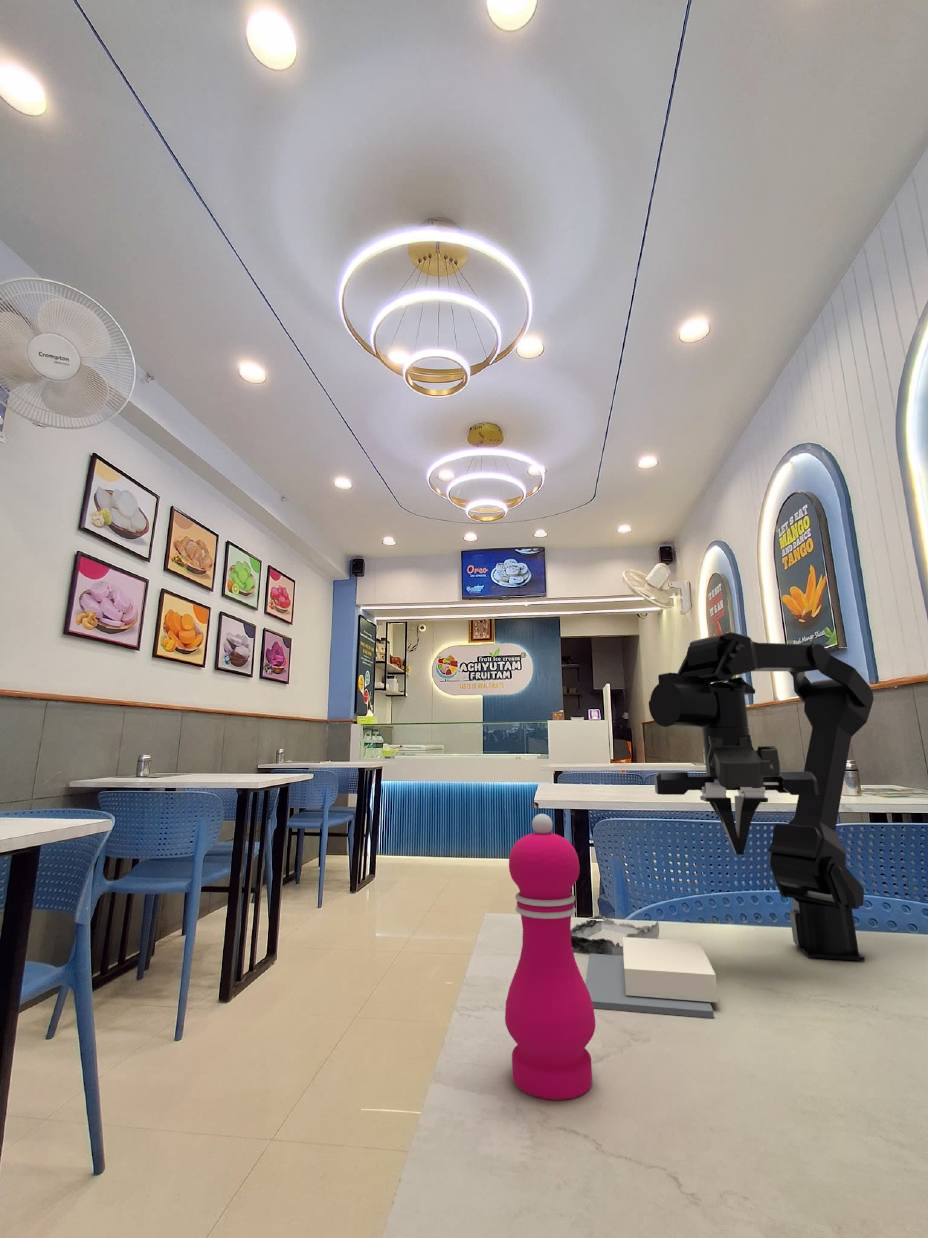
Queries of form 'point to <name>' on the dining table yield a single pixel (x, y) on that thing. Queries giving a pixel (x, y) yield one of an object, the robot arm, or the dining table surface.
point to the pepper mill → (548, 972)
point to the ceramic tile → (668, 970)
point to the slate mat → (611, 994)
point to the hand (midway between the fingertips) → (739, 854)
